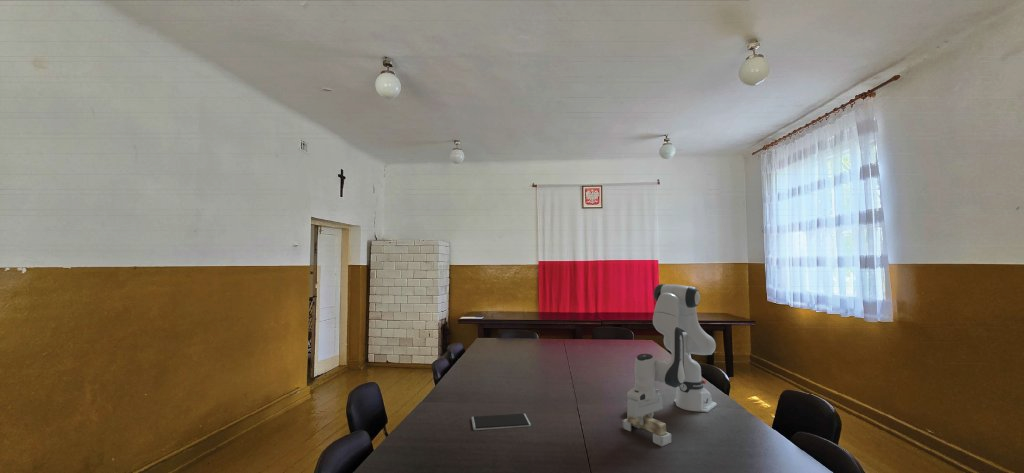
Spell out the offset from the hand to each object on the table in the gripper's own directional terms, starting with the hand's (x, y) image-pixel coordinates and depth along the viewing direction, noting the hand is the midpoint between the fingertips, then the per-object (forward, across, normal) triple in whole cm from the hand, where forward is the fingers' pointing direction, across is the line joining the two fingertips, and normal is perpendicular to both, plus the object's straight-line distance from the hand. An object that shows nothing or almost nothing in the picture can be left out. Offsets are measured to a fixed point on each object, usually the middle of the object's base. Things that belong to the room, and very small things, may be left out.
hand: (645, 423), depth 171 cm
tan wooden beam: (+2, 0, 0) cm, 2 cm away
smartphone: (+6, +48, -46) cm, 67 cm away
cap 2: (+5, 0, +9) cm, 10 cm away
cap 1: (+5, 0, -9) cm, 10 cm away
